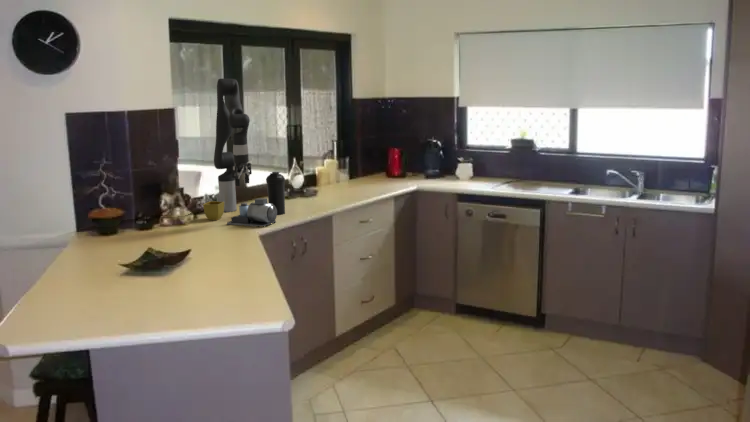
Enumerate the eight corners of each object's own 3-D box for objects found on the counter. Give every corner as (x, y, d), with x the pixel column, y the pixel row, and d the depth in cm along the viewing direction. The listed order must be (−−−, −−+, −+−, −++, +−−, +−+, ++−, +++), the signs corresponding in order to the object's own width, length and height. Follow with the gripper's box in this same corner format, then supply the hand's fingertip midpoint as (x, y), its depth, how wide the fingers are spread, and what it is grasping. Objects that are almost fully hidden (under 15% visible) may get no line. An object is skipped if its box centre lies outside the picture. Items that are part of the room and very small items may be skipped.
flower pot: (219, 221, 371) (217, 204, 369) (203, 220, 373) (202, 204, 371) (225, 217, 379) (224, 201, 378) (210, 217, 381) (209, 201, 379)
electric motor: (227, 224, 363) (225, 199, 360) (240, 219, 373) (238, 195, 371) (267, 227, 353) (266, 201, 351) (279, 222, 364) (278, 197, 361)
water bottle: (288, 211, 392) (286, 171, 387) (284, 215, 382) (282, 173, 377) (270, 211, 393) (268, 171, 388) (265, 215, 383) (263, 173, 378)
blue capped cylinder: (238, 221, 364) (237, 204, 362) (243, 219, 368) (242, 202, 367) (246, 222, 362) (245, 204, 360) (251, 220, 367) (250, 202, 365)
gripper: (242, 151, 366) (244, 182, 370) (226, 154, 354) (228, 186, 357) (254, 151, 364) (256, 182, 367) (239, 155, 351) (241, 187, 354)
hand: (242, 184), depth 362 cm, fingers open, 8 cm apart
